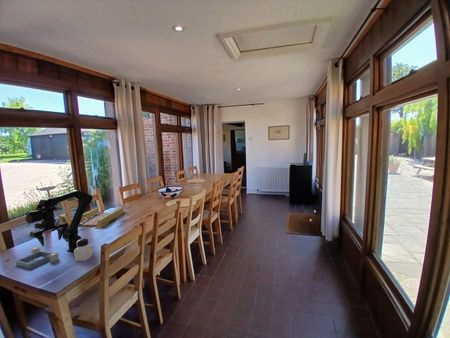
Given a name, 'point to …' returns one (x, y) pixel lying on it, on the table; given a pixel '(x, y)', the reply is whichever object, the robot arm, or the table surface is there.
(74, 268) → the table surface
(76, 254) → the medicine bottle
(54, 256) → the pebble
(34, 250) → the pebble
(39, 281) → the table surface
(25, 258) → the dish
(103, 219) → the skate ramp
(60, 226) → the robot arm
